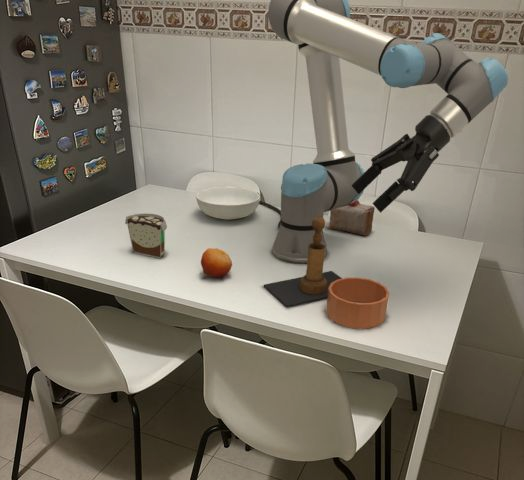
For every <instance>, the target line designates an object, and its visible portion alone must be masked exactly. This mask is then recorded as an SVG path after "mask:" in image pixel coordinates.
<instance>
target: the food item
mask: <svg viewBox="0 0 524 480" xmlns="http://www.w3.org/2000/svg"><path fill="white" fill-rule="evenodd" d="M375 208H376V207H375V206H374V205H368V204H363V203H360V201H359V199H358V200H357V201H355V202H353V203H351V204H349V205H348V206H345V207H339V208H336V209H333V210H330V211H329V213H330V214H329V224H328V228H329V229H332V230H338V231H342V232H347V233H352V234H356V235H360V236H367V235H369V234H370V233H371V232H372V229H373V221H374V214H375Z"/></svg>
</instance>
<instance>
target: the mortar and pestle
mask: <svg viewBox="0 0 524 480" xmlns="http://www.w3.org/2000/svg"><path fill="white" fill-rule="evenodd" d="M312 226H313V228H314V231H315V233H314V235H313V243H311V244H309V246H308V259H307V263H306V272H305V274H304V275H303V276H301V277H302V278H301V281H300V289H301V291H303V292H304V293H307V294H312V295H318V294H322V293H324V292H325V291H326V288H327V280H326V279H325V278H324V277H323V276H322V273H324V262H325V258H324V254H325V246H324V245H323V244H320V243H321V241H322V235H321V231H322V229H323V230H324V228H325V227H326V220H325V218H324V216H323V217H320V216H317V217H315V218H314V219H313V220H312Z"/></svg>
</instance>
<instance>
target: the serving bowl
mask: <svg viewBox="0 0 524 480" xmlns="http://www.w3.org/2000/svg"><path fill="white" fill-rule="evenodd" d="M195 199H196V204H197V206H198V208H199V209H200V210H201V211H202V212H203V213H204V214H205V215H207V216H209V217H212V218H214V219H218V220H219V219H220V220H226V221H227V220H228V221H230V220H232V221H233V220H238V219H244V218H247V217H248V216H250V215H251V214H253V213H254V212H255V211H256V210H257V209H258V207H259V204H260V203H259V201H261V194H260V193H259V194H258V193H257V191H255V190H252V189H250V188H245V187H239V186H212V187H208V188H204V189H202V190H199V191H198V192H197V193H196V194H195Z"/></svg>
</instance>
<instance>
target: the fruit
mask: <svg viewBox="0 0 524 480" xmlns="http://www.w3.org/2000/svg"><path fill="white" fill-rule="evenodd" d="M200 266H201V268H202V271H203V274H204V276H203V277H202V278H203V279H204V280H205V278H207V277H210V278H213V279H223V278H225V277H226V276H227V275H228V274H229V272H230V271H231V269H232V266H233V261H232V259H231V257H230V255H229V254H228V253H227V252H226V251H225V250H222V249H220V248H218V247H217V248H216V247H215V248H214V247H213V248H211V247H209V248H206V249H205V251H203V252H202V256H201V259H200Z"/></svg>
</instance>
